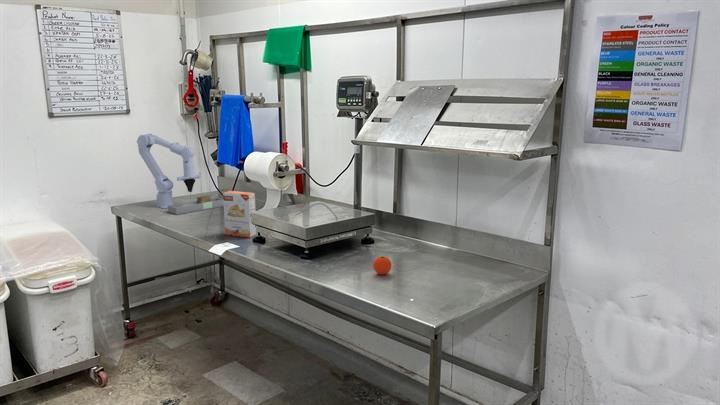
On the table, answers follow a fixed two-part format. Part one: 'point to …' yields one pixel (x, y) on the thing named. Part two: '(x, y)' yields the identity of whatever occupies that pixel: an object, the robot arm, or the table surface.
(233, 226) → the cracker box
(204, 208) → the trap channel
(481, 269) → the table surface
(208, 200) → the walnut block
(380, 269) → the clementine
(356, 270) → the table surface
